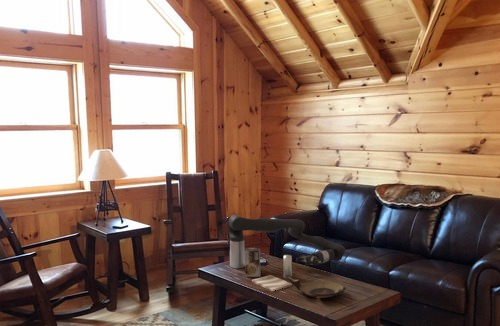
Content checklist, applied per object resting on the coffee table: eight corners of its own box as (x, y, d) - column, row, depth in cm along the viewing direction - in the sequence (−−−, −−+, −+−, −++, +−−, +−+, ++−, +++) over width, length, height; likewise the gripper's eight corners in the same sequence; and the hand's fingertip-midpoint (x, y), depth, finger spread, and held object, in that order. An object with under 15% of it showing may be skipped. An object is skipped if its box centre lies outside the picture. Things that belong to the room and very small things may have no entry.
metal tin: (281, 277, 258) (281, 255, 257) (288, 275, 261) (288, 254, 260) (287, 279, 254) (286, 257, 253) (293, 277, 257) (293, 256, 256)
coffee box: (260, 273, 265) (260, 247, 264) (260, 277, 259) (259, 250, 258) (246, 273, 266) (245, 247, 265) (244, 276, 260) (244, 250, 259)
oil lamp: (329, 308, 212) (329, 293, 211) (282, 293, 233) (282, 279, 232) (353, 295, 228) (353, 281, 227) (307, 282, 249) (307, 269, 248)
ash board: (251, 281, 250) (251, 279, 250) (271, 277, 258) (270, 275, 258) (272, 291, 235) (272, 289, 235) (291, 285, 243) (291, 283, 243)
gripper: (312, 248, 278) (293, 253, 268) (328, 253, 266) (308, 258, 257) (312, 260, 278) (293, 265, 269) (328, 265, 266) (308, 271, 257)
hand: (300, 261), depth 263 cm, fingers open, 8 cm apart
